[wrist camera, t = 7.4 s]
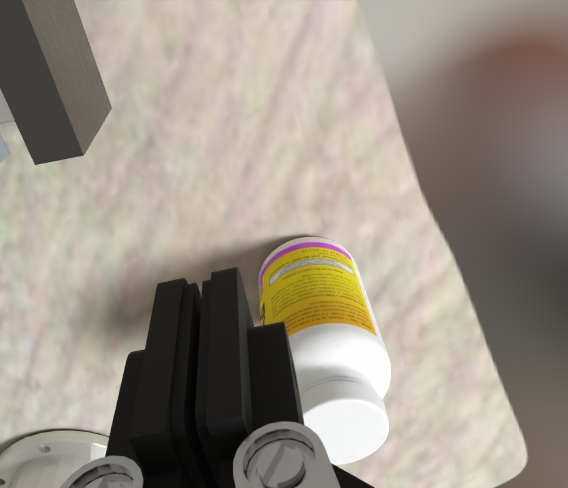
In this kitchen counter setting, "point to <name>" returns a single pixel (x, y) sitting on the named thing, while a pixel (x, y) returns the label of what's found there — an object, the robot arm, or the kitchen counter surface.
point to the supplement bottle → (329, 343)
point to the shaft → (49, 78)
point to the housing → (3, 149)
